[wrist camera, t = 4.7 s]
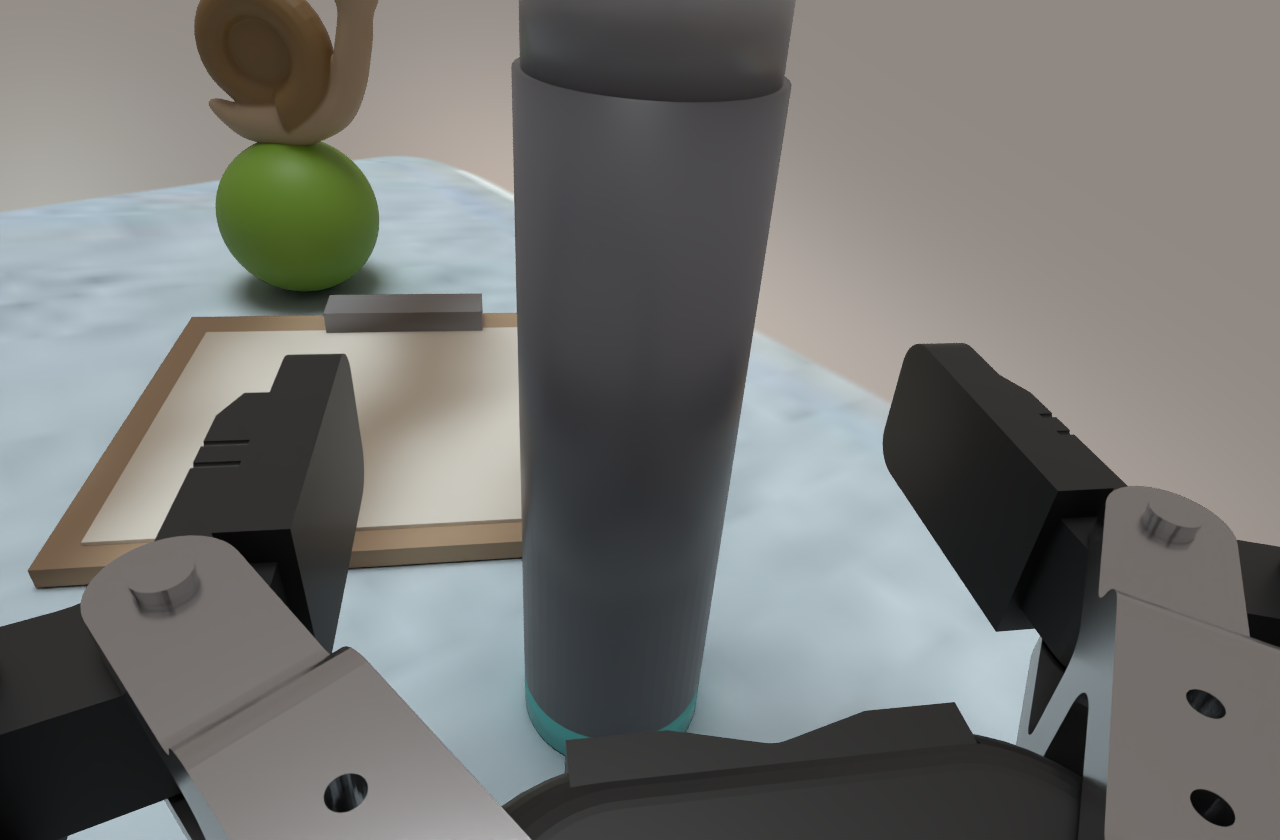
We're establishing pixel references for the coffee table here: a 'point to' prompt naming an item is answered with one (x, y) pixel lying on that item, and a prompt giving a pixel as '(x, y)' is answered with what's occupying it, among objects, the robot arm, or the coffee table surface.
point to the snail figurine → (291, 137)
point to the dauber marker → (634, 334)
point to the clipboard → (388, 420)
